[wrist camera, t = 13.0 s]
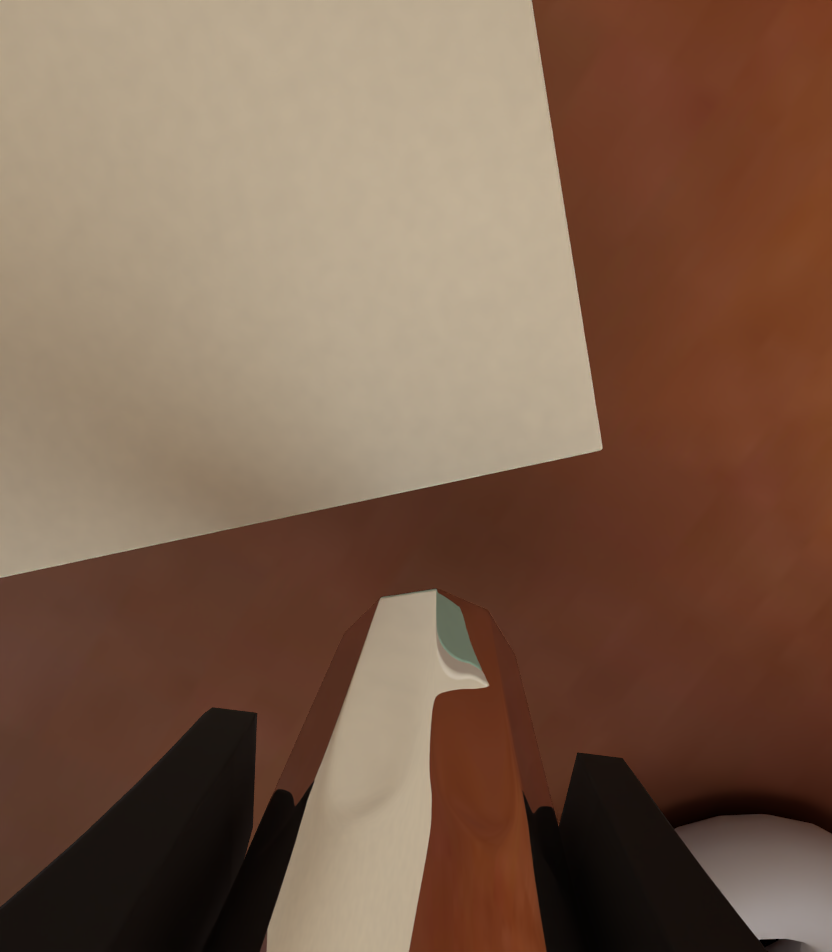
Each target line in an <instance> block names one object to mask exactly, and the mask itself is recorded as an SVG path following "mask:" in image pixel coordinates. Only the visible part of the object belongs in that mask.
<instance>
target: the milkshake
mask: <svg viewBox="0 0 832 952" xmlns="http://www.w3.org/2000/svg"><path fill="white" fill-rule="evenodd" d="M201 952H590V950H589V947H588V943H587V939H586V936H585V932H584V928H583V924H582V920H581V917H580V913H579V909H578V905H577V901H576V897H575V893H574V889H573V884H572V880H571V876H570V872H569V868H568V864H567V860H566V856H565V852H564V848H563V843H562V839H561V835H560V831H559V827H558V823H557V819H556V815H555V811H554V807H553V803H552V799H551V795H550V791H549V787H548V783H547V779H546V775H545V771H544V767H543V763H542V759H541V755H540V751H539V747H538V743H537V739H536V735H535V731H534V727H533V723H532V719H531V715H530V711H529V707H528V703H527V699H526V695H525V691H524V687H523V683H522V679H521V675H520V671H519V667H518V663H517V659H516V656H515V653H514V652H513V650H512V648H511V647H510V645H509V644H508V642H507V640H506V639H505V637H504V636H503V634H502V632H501V631H500V629H499V627H498V626H497V624H496V622H495V621H494V619H493V617H492V616H491V614H490V612H489V611H488V610H487V609H485V608H483V607H480V606H478V605H475V604H473V603H471V602H468V601H466V600H464V599H461V598H459V597H457V596H454V595H452V594H450V593H447V592H445V591H443V590H440V589H438V588H432V589H426V590H420V591H413V592H407V593H400V594H394V595H387V596H382V597H380V598H379V599H378V600H377V601H376V602H375V603H374V604H373V605H372V606H371V607H370V608H369V609H368V610H367V611H366V612H365V613H364V614H363V615H362V616H361V617H360V618H359V619H358V620H357V621H356V622H355V623H354V624H353V625H352V626H350V627H349V628H348V629H347V630H346V631H345V633H344V635H343V637H342V639H341V641H340V643H339V645H338V647H337V650H336V652H335V654H334V656H333V659H332V661H331V663H330V665H329V668H328V670H327V672H326V674H325V677H324V679H323V681H322V683H321V686H320V688H319V690H318V692H317V695H316V697H315V699H314V702H313V704H312V706H311V708H310V711H309V713H308V715H307V717H306V720H305V722H304V724H303V726H302V729H301V731H300V733H299V735H298V738H297V740H296V742H295V744H294V747H293V749H292V751H291V753H290V756H289V758H288V760H287V763H286V765H285V767H284V769H283V772H282V774H281V776H280V778H279V781H278V783H277V785H276V787H275V790H274V792H273V794H272V797H271V799H270V801H269V803H268V806H267V808H266V810H265V813H264V815H263V817H262V819H261V822H260V824H259V826H258V829H257V831H256V833H255V835H254V838H253V840H252V842H251V845H250V847H249V849H248V852H247V854H246V856H245V859H244V861H243V863H242V865H241V868H240V870H239V872H238V874H237V876H236V879H235V881H234V883H233V885H232V887H231V890H230V892H229V894H228V896H227V898H226V900H225V902H224V905H223V907H222V909H221V911H220V913H219V915H218V917H217V919H216V922H215V924H214V926H213V928H212V930H211V932H210V934H209V936H208V938H207V941H206V943H205V945H204V947H203V949H202V951H201Z"/></svg>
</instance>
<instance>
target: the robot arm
mask: <svg viewBox="0 0 832 952" xmlns="http://www.w3.org/2000/svg"><path fill="white" fill-rule="evenodd" d="M256 727H257V713H253V712H245V711H237V710H229V709H221V708H211V709H210V710H208V711H207V712H205V713H204V714H203V715H202V716H201V717H200V718H199V719H198V721H197V722H196V723H195V724H194V725H193V726H192V727H191V728H190V729H189V730H188V731H187V732H186V733H185V734H184V735H183V736H182V738H181V739H180V740H179V741H178V742H177V743H176V744H175V745H174V746H173V747H172V748H171V749H170V750H169V751H168V752H167V753H166V754H165V755H164V756H163V757H162V758H161V759H160V760H159V761H158V762H157V763H156V764H155V765H154V766H153V767H152V768H151V769H150V770H149V771H148V772H147V773H146V774H145V775H144V776H143V777H142V778H141V779H140V780H139V781H138V782H137V783H136V784H135V785H134V786H133V787H132V788H131V789H130V790H129V791H128V792H127V793H126V794H125V795H124V796H123V797H122V798H121V799H120V800H119V801H118V802H117V803H116V804H115V805H113V806H112V807H111V808H110V809H109V810H108V811H107V812H106V813H105V814H104V815H103V816H102V817H101V818H100V819H99V820H98V821H97V822H96V823H95V824H94V825H93V826H91V827H90V828H89V829H88V830H87V831H86V832H85V833H84V834H83V835H82V836H81V837H80V838H79V839H77V840H76V841H75V842H74V843H73V844H72V845H71V846H70V847H69V848H67V849H66V850H65V851H64V852H63V853H62V854H61V855H59V856H58V857H57V858H56V859H55V860H54V861H53V862H51V863H50V864H49V865H48V866H47V867H46V868H45V869H44V870H42V871H41V872H40V873H39V874H38V875H37V876H36V877H34V878H33V879H32V880H31V881H30V882H29V883H28V884H26V885H25V886H24V887H23V888H22V889H21V890H20V891H18V892H17V893H16V894H15V895H14V896H13V897H12V898H10V899H9V900H8V901H7V902H6V903H4V904H3V905H2V906H1V907H0V952H201V951H202V949H203V947H204V945H205V943H206V941H207V938H208V936H209V934H210V932H211V930H212V928H213V926H214V924H215V922H216V919H217V917H218V915H219V913H220V911H221V909H222V907H223V905H224V902H225V900H226V898H227V896H228V894H229V892H230V890H231V887H232V885H233V883H234V881H235V879H236V876H237V874H238V872H239V870H240V868H241V865H242V863H243V861H244V858H245V854H246V850H247V847H248V843H249V839H250V835H251V832H252V828H253V806H254V780H255V753H256ZM559 831H560V835H561V839H562V843H563V848H564V852H565V856H566V860H567V864H568V868H569V872H570V876H571V880H572V884H573V889H574V893H575V897H576V901H577V905H578V909H579V913H580V917H581V920H582V924H583V928H584V932H585V936H586V939H587V943H588V947H589V950H590V952H768V951H767V950H766V948H765V947H764V946H763V945H762V943H761V942H760V941H759V940H758V938H757V937H756V936H755V935H754V933H753V932H752V931H751V930H750V928H749V927H748V926H747V925H746V923H745V922H744V921H743V919H742V918H741V917H740V916H739V914H738V913H737V912H736V910H735V909H734V908H733V907H732V905H731V904H730V903H729V901H728V900H727V899H726V898H725V896H724V895H723V894H722V892H721V891H720V890H719V888H718V887H717V886H716V885H715V883H714V882H713V881H712V879H711V878H710V877H709V876H708V874H707V873H706V872H705V870H704V869H703V868H702V866H701V865H700V864H699V862H698V861H697V860H696V858H695V857H694V856H693V854H692V853H691V852H690V850H689V849H688V847H687V846H686V845H685V843H684V842H683V841H682V839H681V838H680V837H679V835H678V834H677V832H676V831H675V830H674V828H673V827H672V826H671V824H670V823H669V821H668V820H667V819H666V817H665V816H664V815H663V813H662V812H661V810H660V809H659V808H658V806H657V805H656V803H655V802H654V801H653V799H652V798H651V797H650V795H649V794H648V792H647V791H646V790H645V788H644V787H643V785H642V784H641V783H640V781H639V780H638V779H637V777H636V776H635V774H634V773H633V772H632V770H631V769H630V768H629V766H628V765H627V764H626V762H625V761H624V760H623V758H617V757H609V756H601V755H592V754H584V753H577V756H576V760H575V764H574V768H573V772H572V776H571V780H570V784H569V788H568V792H567V796H566V800H565V804H564V808H563V812H562V816H561V820H560V824H559Z"/></svg>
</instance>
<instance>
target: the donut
mask: <svg viewBox="0 0 832 952" xmlns="http://www.w3.org/2000/svg"><path fill="white" fill-rule="evenodd" d="M674 830H675V831H676V832H677V834H678V835H679V837H680V838H681V839H682V841H683V842H684V843H685V845H686V846H687V847H688V849H689V850H690V852H691V853H692V854H693V856H694V857H695V858H696V860H697V861H698V862H699V864H700V865H701V866H702V868H703V869H704V870H705V872H706V873H707V874H708V876H709V877H710V878H711V879H712V881H713V882H714V883H715V885H716V886H717V887H718V888H719V890H720V891H721V892H722V894H723V895H724V896H725V898H726V899H727V900H728V901H729V903H730V904H731V905H732V907H733V908H734V909H735V910H736V912H737V913H738V914H739V916H740V917H741V918H742V919H743V921H744V922H745V923H746V925H747V926H748V927H749V928H750V930H751V931H752V932H753V933H754V935H755V936H756V937H757V938H758V940H760V939H779V940H778V941H776V942H774V943H772V944H770V945H768V946H766V947H765V948H766V950H767V951H768V952H832V834H831V833H829V832H828V831H826V830H824V829H822V828H820V827H818V826H816V825H814V824H812V823H807V822H802V821H797V820H792V819H787V818H782V817H777V816H773V815H766V814H750V815H725V816H716V817H712V818H709V819H705V820H701V821H698V822H694V823H691V824H687V825H683V826H680V827H677V828H675V829H674Z"/></svg>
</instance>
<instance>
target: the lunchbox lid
mask: <svg viewBox="0 0 832 952" xmlns="http://www.w3.org/2000/svg"><path fill="white" fill-rule="evenodd" d="M600 450H602V441H601V434H600V428H599V422H598V415H597V409H596V403H595V397H594V390H593V384H592V378H591V371H590V365H589V359H588V352H587V346H586V340H585V334H584V327H583V321H582V315H581V308H580V302H579V296H578V289H577V283H576V277H575V271H574V264H573V258H572V252H571V245H570V239H569V233H568V226H567V220H566V214H565V208H564V201H563V195H562V189H561V182H560V176H559V170H558V163H557V157H556V151H555V145H554V138H553V132H552V126H551V119H550V113H549V107H548V100H547V94H546V88H545V82H544V75H543V69H542V63H541V56H540V50H539V44H538V38H537V31H536V25H535V19H534V12H533V6H532V0H0V578H1V577H6V576H11V575H16V574H20V573H25V572H30V571H35V570H39V569H44V568H49V567H53V566H58V565H63V564H68V563H72V562H77V561H82V560H86V559H91V558H96V557H101V556H105V555H110V554H115V553H119V552H124V551H129V550H134V549H138V548H143V547H148V546H152V545H157V544H162V543H167V542H171V541H176V540H181V539H185V538H190V537H195V536H200V535H204V534H209V533H214V532H218V531H223V530H228V529H233V528H237V527H242V526H247V525H251V524H256V523H261V522H266V521H270V520H275V519H280V518H284V517H289V516H294V515H299V514H303V513H308V512H313V511H317V510H322V509H327V508H332V507H336V506H341V505H346V504H350V503H355V502H360V501H365V500H369V499H374V498H379V497H384V496H388V495H393V494H398V493H402V492H407V491H412V490H417V489H421V488H426V487H431V486H435V485H440V484H445V483H450V482H454V481H459V480H464V479H468V478H473V477H478V476H483V475H487V474H492V473H497V472H501V471H506V470H511V469H516V468H520V467H525V466H530V465H534V464H539V463H544V462H549V461H553V460H558V459H563V458H567V457H572V456H577V455H582V454H586V453H591V452H596V451H600Z"/></svg>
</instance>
